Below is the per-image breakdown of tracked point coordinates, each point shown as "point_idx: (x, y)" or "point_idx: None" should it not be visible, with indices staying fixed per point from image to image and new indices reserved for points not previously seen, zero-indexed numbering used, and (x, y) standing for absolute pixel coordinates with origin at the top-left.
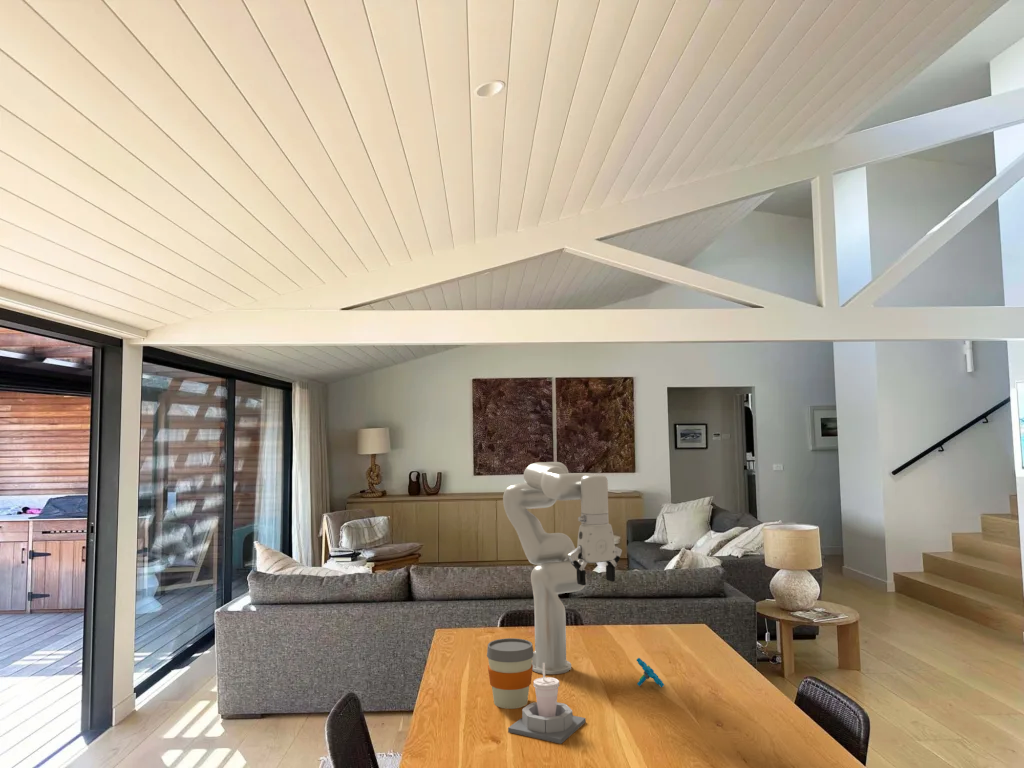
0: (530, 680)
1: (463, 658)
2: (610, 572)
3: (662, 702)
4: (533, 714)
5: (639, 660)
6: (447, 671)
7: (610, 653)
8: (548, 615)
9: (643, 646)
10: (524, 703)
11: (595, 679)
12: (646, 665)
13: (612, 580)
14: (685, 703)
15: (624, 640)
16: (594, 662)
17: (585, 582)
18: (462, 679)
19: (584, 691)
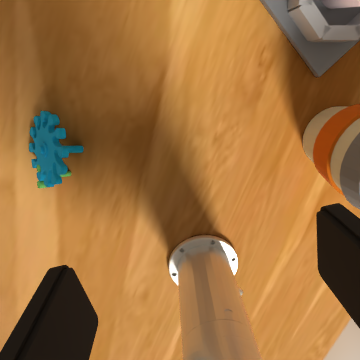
0: (330, 123)
1: (308, 323)
2: (55, 340)
3: (61, 49)
4: (354, 21)
5: (60, 165)
6: None
7: None
8: (238, 330)
9: (14, 319)
10: (320, 113)
11: (149, 199)
12: (47, 167)
13: (68, 269)
14: (12, 27)
15: None
16: (122, 271)
17: (330, 216)
18: None
19: (189, 150)
